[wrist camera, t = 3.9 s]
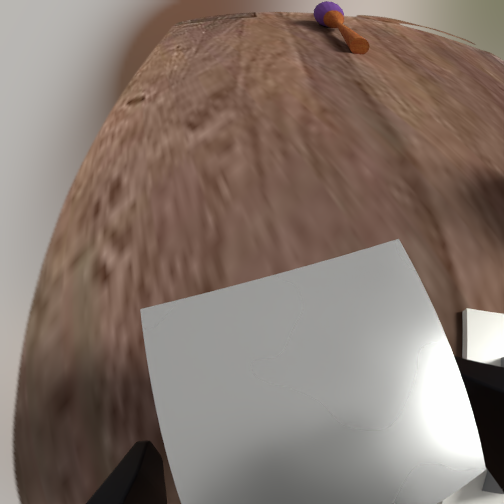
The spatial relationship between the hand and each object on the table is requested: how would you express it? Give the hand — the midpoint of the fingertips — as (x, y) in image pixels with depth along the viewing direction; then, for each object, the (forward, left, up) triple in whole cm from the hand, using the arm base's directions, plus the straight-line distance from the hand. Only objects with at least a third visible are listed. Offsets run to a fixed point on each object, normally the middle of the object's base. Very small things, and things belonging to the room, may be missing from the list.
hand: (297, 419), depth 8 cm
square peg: (0, 0, -8) cm, 8 cm away
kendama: (+58, 0, -8) cm, 58 cm away
